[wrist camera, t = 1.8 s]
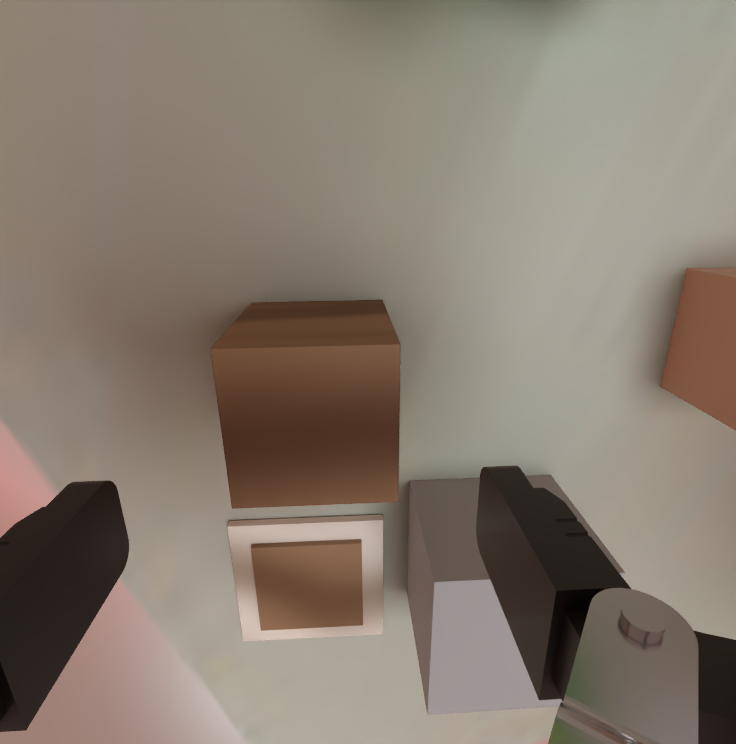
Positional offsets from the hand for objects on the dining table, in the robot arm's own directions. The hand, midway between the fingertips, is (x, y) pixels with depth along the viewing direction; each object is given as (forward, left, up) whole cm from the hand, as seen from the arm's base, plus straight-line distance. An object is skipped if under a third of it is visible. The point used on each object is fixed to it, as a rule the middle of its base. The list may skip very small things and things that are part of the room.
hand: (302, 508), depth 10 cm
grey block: (+9, +7, -9) cm, 14 cm away
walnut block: (0, 0, -9) cm, 9 cm away
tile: (+11, -1, -9) cm, 14 cm away
